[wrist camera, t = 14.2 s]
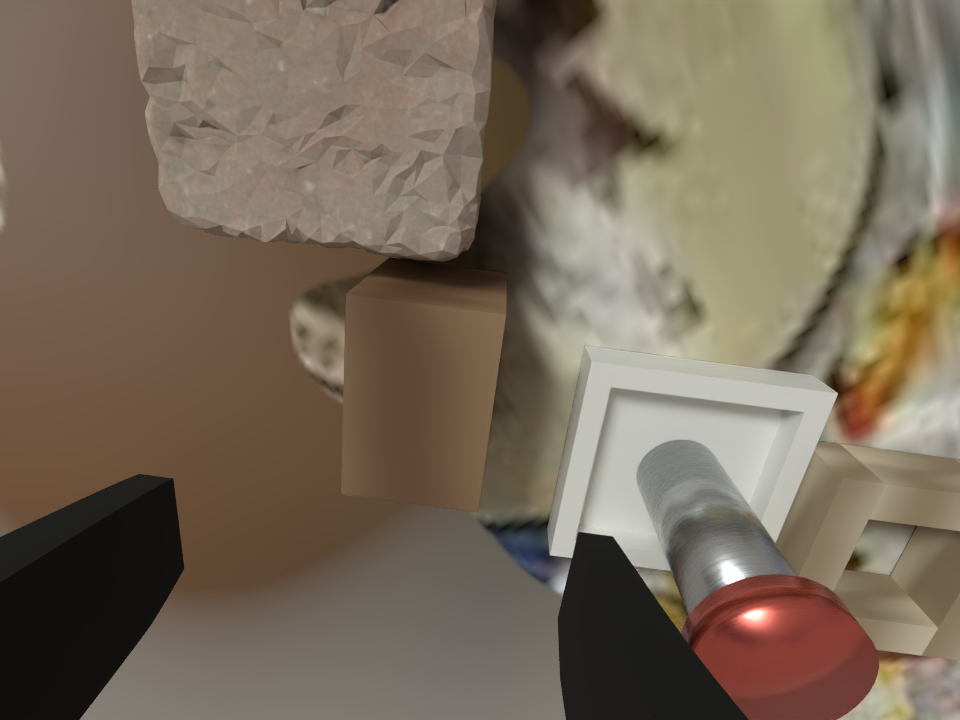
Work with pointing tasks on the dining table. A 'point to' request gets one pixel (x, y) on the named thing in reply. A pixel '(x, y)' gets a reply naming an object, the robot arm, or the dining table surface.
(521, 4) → the dining table surface
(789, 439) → the tray
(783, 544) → the socket block
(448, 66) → the brick
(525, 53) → the dining table surface
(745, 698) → the pin
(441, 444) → the brown rectangular block
